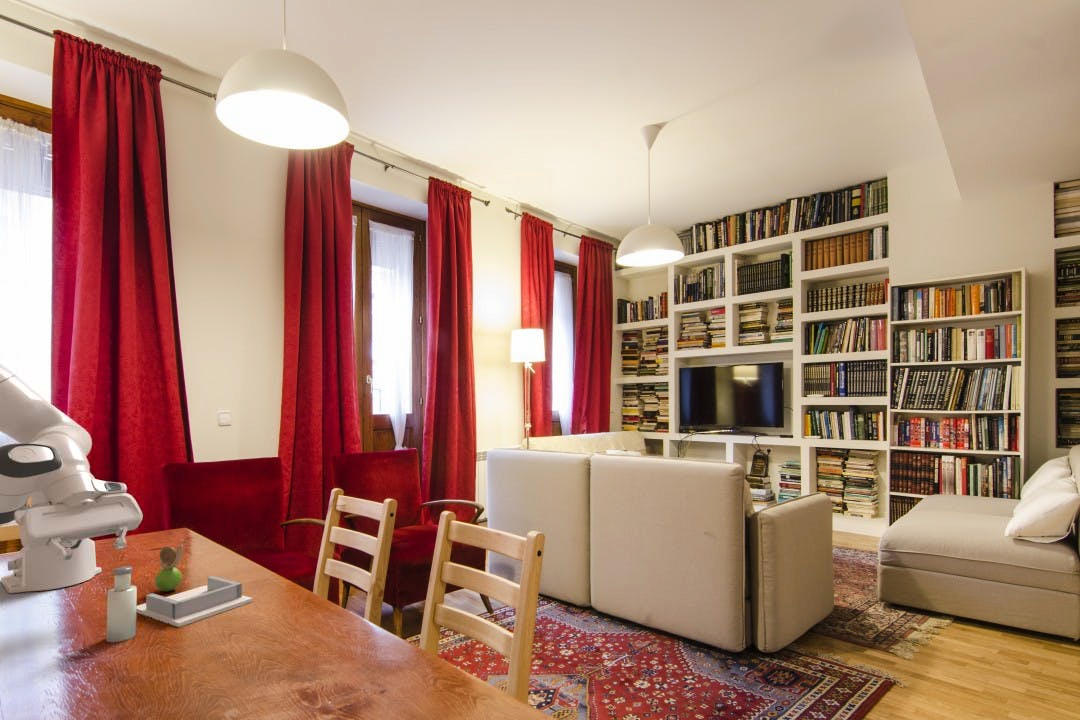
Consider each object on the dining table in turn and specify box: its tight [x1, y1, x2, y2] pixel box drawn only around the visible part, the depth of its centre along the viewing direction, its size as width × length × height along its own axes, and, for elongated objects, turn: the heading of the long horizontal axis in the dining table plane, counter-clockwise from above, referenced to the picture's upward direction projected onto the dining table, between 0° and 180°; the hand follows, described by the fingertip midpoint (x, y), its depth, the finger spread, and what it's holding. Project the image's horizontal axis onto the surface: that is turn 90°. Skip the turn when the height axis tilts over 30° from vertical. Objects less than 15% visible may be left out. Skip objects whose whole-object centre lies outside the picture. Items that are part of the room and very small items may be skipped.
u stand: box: [136, 575, 254, 628], centre depth 129 cm, size 18×16×4 cm
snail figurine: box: [154, 539, 185, 593], centre depth 139 cm, size 5×6×12 cm
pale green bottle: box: [106, 565, 138, 643], centre depth 114 cm, size 5×5×13 cm
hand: (95, 552), depth 118 cm, fingers open, 8 cm apart
